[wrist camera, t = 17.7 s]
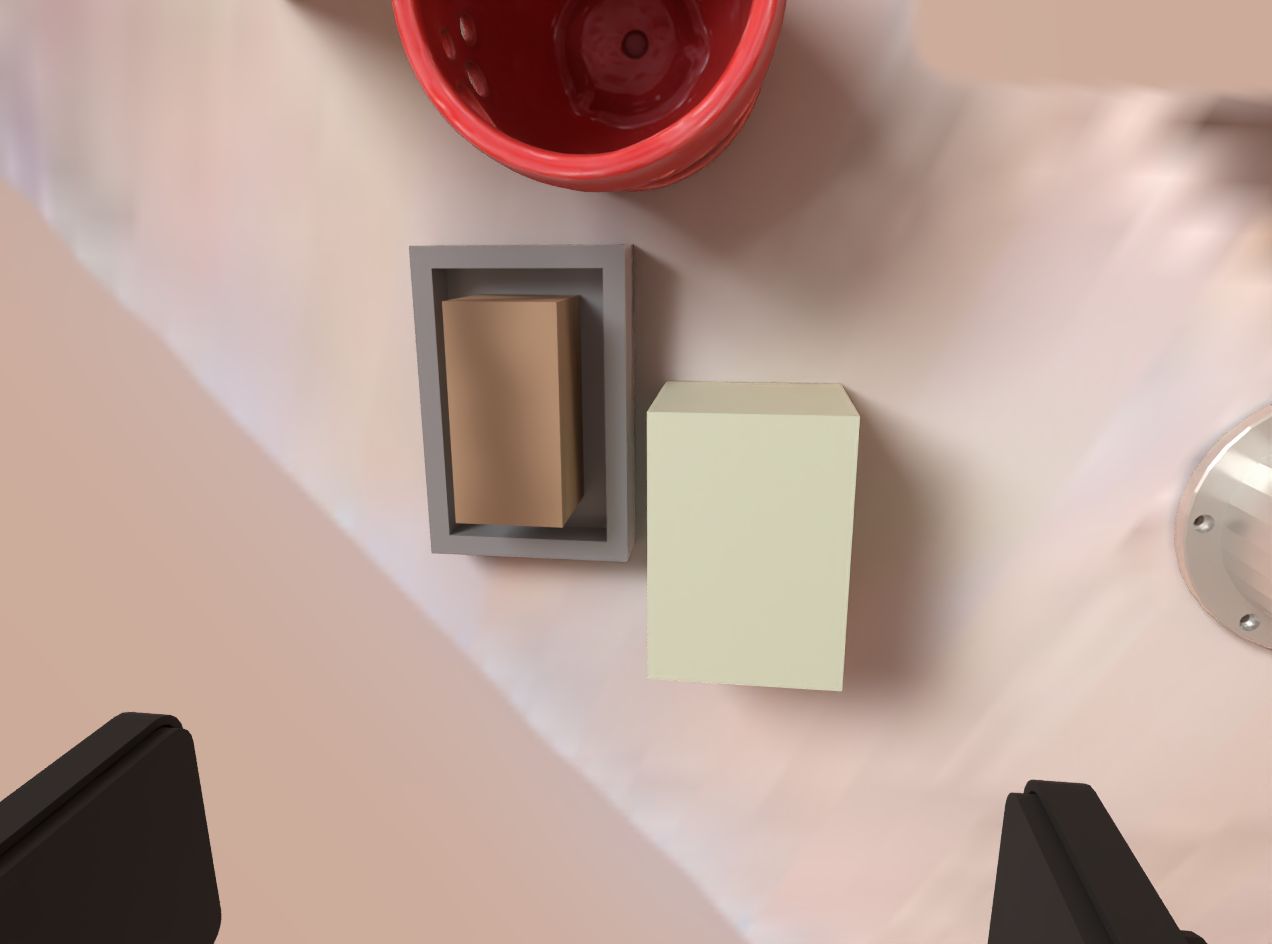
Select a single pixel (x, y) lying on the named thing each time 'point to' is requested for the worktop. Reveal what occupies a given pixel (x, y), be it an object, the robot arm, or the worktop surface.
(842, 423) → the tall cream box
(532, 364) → the block
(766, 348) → the worktop surface
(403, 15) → the plant pot
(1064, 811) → the robot arm
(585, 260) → the tray
